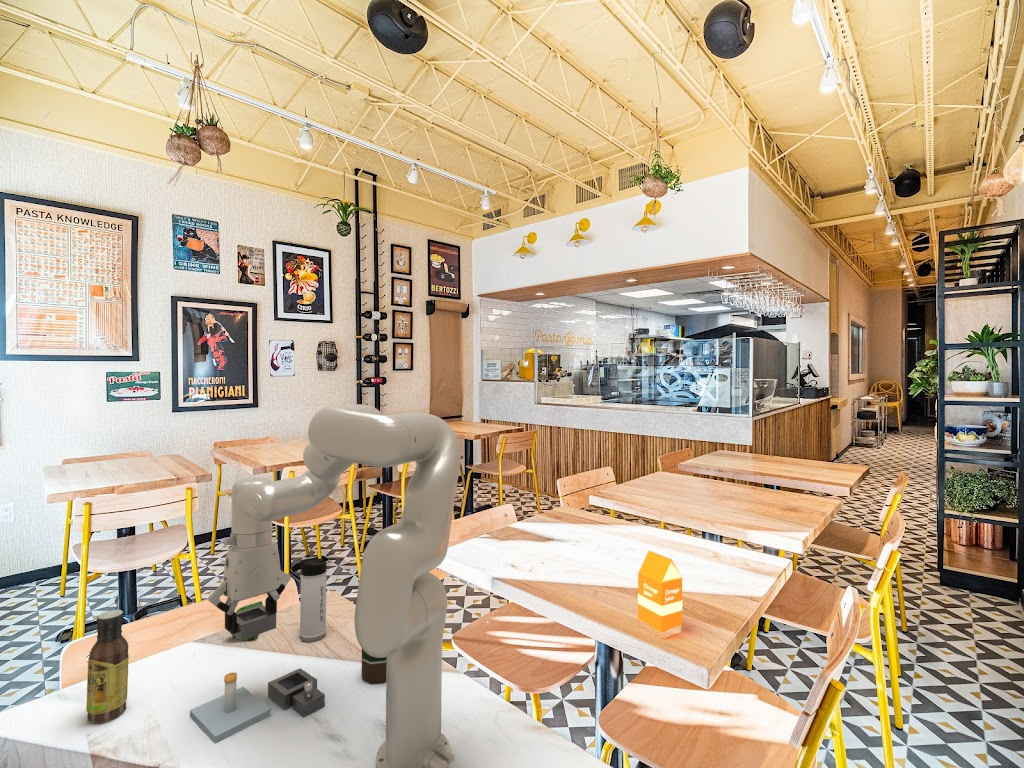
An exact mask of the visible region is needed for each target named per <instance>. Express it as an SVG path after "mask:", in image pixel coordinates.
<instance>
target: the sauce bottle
mask: <svg viewBox="0 0 1024 768" xmlns="http://www.w3.org/2000/svg"><path fill="white" fill-rule="evenodd" d="M123 619H124V611H123V610H121V609H112V610H107V611H104V612H102V613H100V614H98V616H97V617H96V625H97V636H96V638H97V639H96V642H95V643H94V644H93V646H92V647H91V649H90V651H89V656H88V659H87V660H88V661H87V680H86V681H87V685H86V705H85V706H86V713H87V716H86V717H87V720H88V722H89V723H96V724H100V723H106V722H109V721H111V720H114V719H116V718H118V717H120V716H121V715H122V714H123V713H124V712H125V711H126V709H127V700H128V688H129V687H128V685H129V655H130V654H129V643H128V640H127V639H126V638H125V637H124V636H123V634H122V632H123V630H122V627H123V626H122V624H123Z"/></svg>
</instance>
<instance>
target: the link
mask: <svg viewBox="0 0 1024 768" xmlns="http://www.w3.org/2000/svg"><path fill="white" fill-rule="evenodd" d="M307 681H312V682H313V686H314V687H315V688H317V689H318V678H316V677H314V676H313V675H311V674H310V673H308V672H307V671H306V670H303V669H302V668H301V667H300V668H297V669H295V670H293V671H291V672H288V673H286V674H283V675H282V676H280V677H277V678H275V679H273V680H270V681H269V682H268V683H267V697H268V699H269V700H271V701H272V702H273V703H274V704H276V705H277V706H278V707H280V708H281V709H282V710H283V711H286V710H288V709H292V696H294V695H296V694H298V693H300V692H302V691H304V684H305V683H306V682H307Z"/></svg>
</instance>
